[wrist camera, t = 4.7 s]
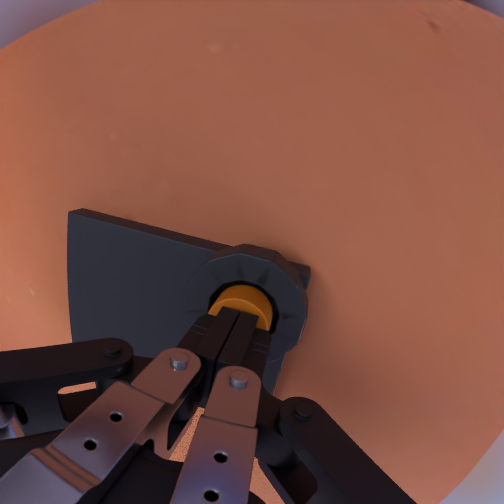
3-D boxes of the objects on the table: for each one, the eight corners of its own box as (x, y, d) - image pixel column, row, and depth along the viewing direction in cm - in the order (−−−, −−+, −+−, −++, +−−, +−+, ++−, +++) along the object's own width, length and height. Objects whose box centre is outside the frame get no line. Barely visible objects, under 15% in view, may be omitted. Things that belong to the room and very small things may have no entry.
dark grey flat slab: (83, 196, 17) (50, 202, 14) (318, 253, 15) (321, 273, 12) (83, 340, 20) (60, 359, 17) (269, 407, 18) (262, 440, 15)
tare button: (221, 277, 14) (210, 290, 12) (279, 292, 13) (274, 308, 12) (212, 327, 14) (202, 343, 13) (265, 342, 14) (260, 360, 13)
